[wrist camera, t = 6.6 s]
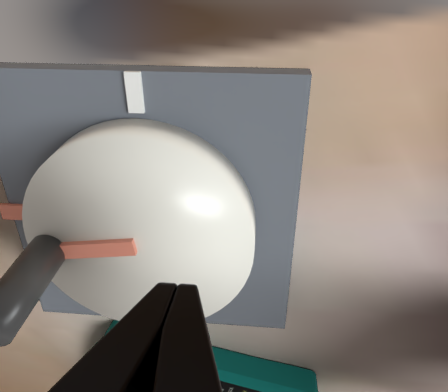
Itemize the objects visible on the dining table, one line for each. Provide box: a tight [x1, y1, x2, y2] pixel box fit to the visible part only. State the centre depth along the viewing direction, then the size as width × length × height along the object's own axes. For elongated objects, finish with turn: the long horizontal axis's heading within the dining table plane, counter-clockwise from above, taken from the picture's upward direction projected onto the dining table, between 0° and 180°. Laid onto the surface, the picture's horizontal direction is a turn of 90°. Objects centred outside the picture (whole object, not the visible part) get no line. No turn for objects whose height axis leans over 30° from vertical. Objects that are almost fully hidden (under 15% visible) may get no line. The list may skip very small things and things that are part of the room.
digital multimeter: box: [104, 320, 318, 392], centre depth 28 cm, size 7×15×3 cm, turn 75°
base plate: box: [0, 62, 312, 329], centre depth 22 cm, size 16×15×1 cm
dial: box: [0, 118, 256, 346], centre depth 18 cm, size 11×11×7 cm
